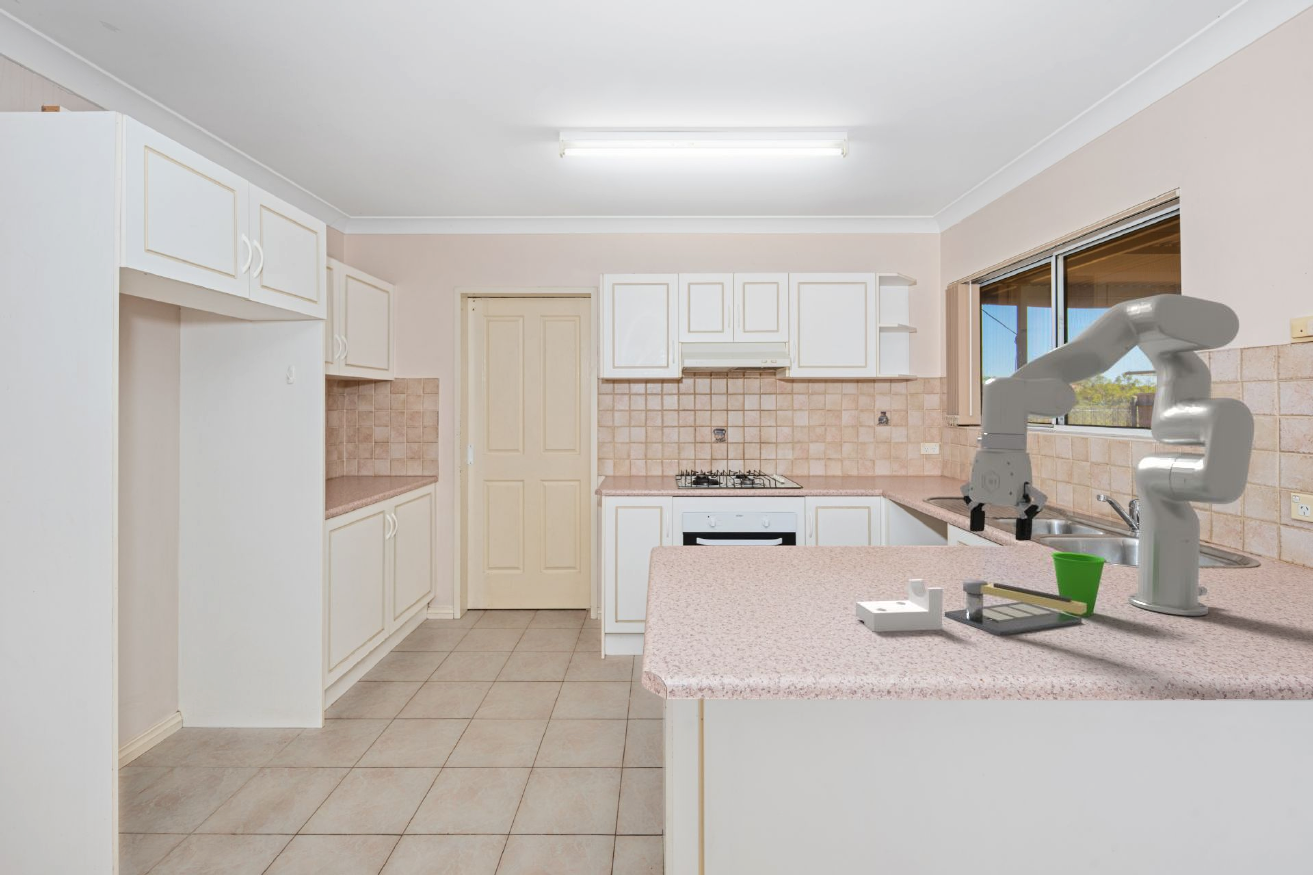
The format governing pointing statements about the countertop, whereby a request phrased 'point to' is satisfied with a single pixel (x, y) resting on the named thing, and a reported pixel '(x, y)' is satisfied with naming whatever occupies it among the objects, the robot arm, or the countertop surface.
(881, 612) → the bracket
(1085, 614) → the cup
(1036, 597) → the swing arm
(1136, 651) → the countertop surface
